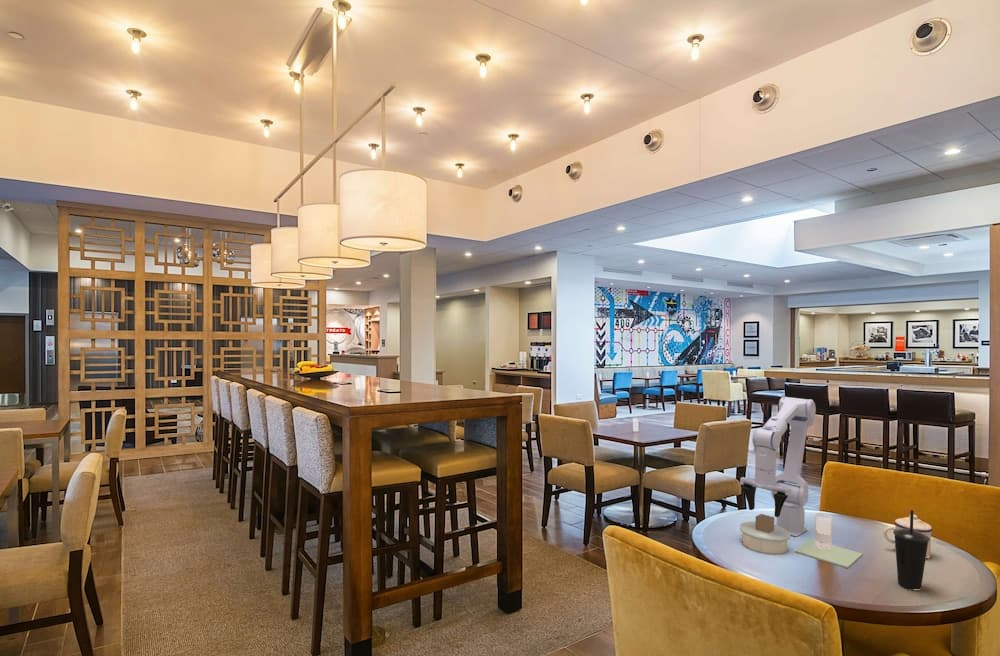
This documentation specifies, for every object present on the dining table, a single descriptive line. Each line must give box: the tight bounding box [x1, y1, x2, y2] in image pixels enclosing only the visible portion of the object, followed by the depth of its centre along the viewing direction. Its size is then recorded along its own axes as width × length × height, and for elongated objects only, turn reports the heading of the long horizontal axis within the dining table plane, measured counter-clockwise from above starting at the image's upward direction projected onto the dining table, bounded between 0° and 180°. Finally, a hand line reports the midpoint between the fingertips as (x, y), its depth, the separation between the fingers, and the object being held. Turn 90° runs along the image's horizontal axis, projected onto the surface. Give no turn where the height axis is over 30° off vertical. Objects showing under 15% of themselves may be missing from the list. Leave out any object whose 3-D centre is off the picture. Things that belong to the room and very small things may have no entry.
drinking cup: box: [892, 509, 930, 590], centre depth 143 cm, size 8×8×20 cm
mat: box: [793, 538, 864, 570], centre depth 163 cm, size 14×14×1 cm
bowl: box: [741, 532, 788, 555], centre depth 168 cm, size 12×12×4 cm
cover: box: [739, 513, 791, 542], centre depth 168 cm, size 14×14×5 cm
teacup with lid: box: [883, 514, 933, 557], centre depth 165 cm, size 12×9×12 cm
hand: (764, 512), depth 168 cm, fingers open, 7 cm apart
